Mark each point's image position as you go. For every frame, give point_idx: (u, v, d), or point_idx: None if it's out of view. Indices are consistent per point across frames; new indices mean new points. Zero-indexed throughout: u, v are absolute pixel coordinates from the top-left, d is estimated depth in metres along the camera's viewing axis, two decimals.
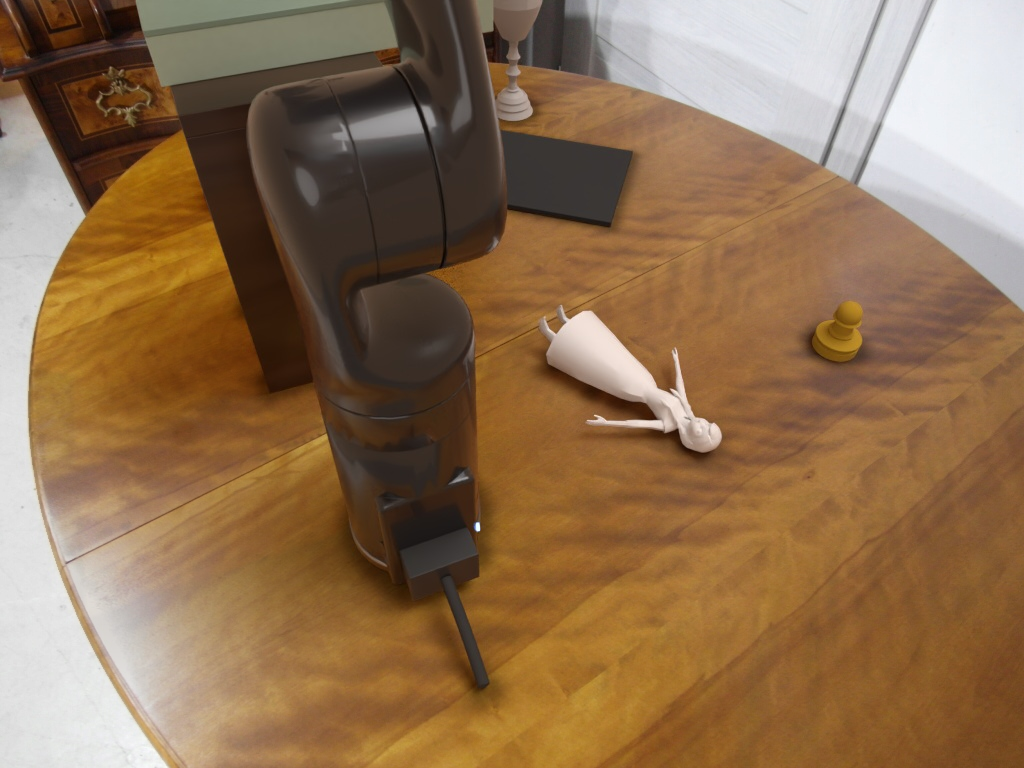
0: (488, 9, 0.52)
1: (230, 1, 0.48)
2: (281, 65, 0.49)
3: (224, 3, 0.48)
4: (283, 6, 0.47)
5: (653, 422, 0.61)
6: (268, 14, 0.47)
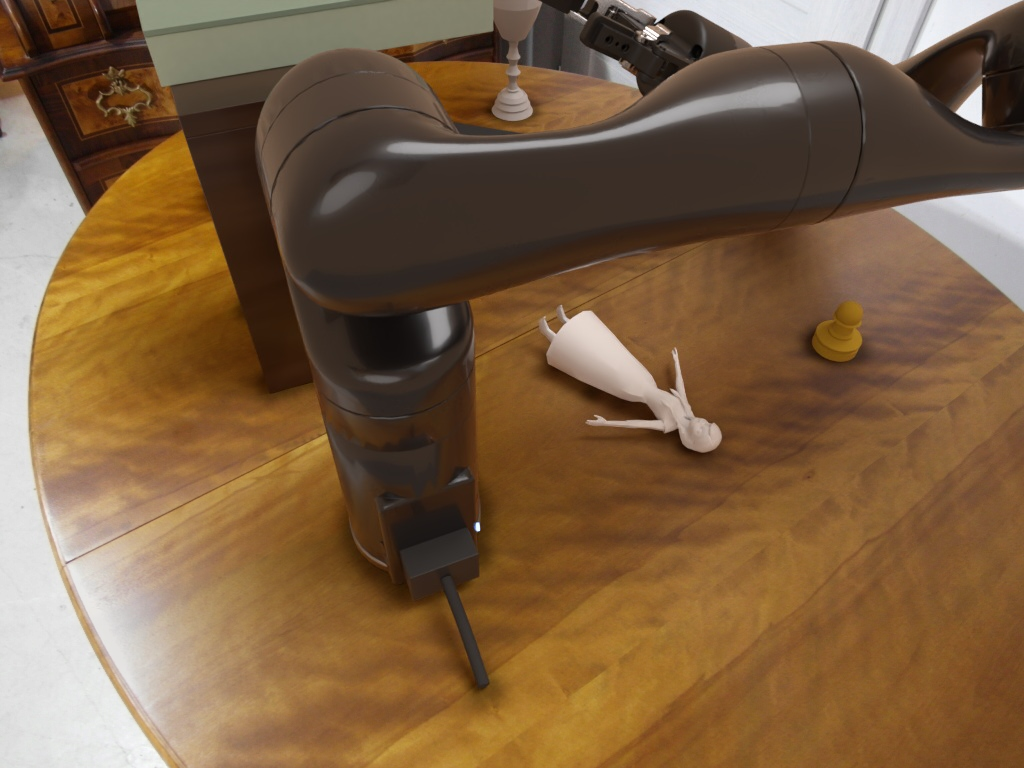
0: (488, 9, 0.52)
1: (230, 1, 0.48)
2: (281, 65, 0.49)
3: (224, 3, 0.48)
4: (283, 6, 0.47)
5: (653, 422, 0.61)
6: (268, 14, 0.47)
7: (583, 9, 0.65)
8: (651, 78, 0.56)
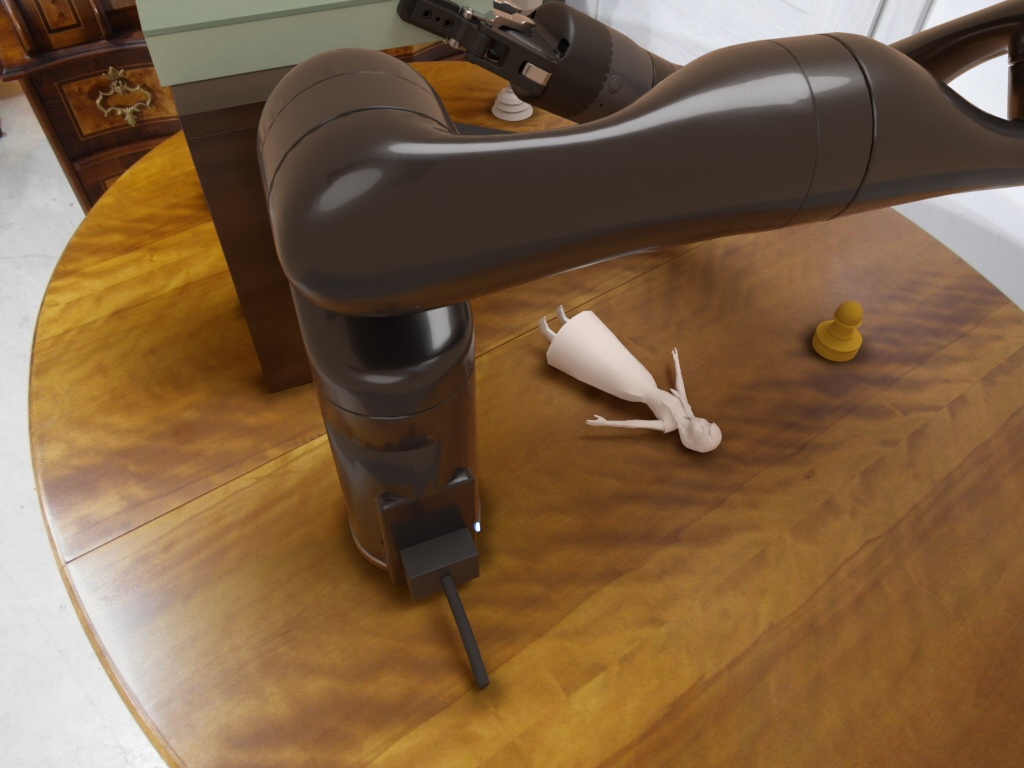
0: (488, 9, 0.52)
1: (230, 1, 0.48)
2: (281, 65, 0.49)
3: (224, 3, 0.48)
4: (283, 6, 0.47)
5: (653, 422, 0.61)
6: (268, 14, 0.47)
7: None
8: (476, 57, 0.51)
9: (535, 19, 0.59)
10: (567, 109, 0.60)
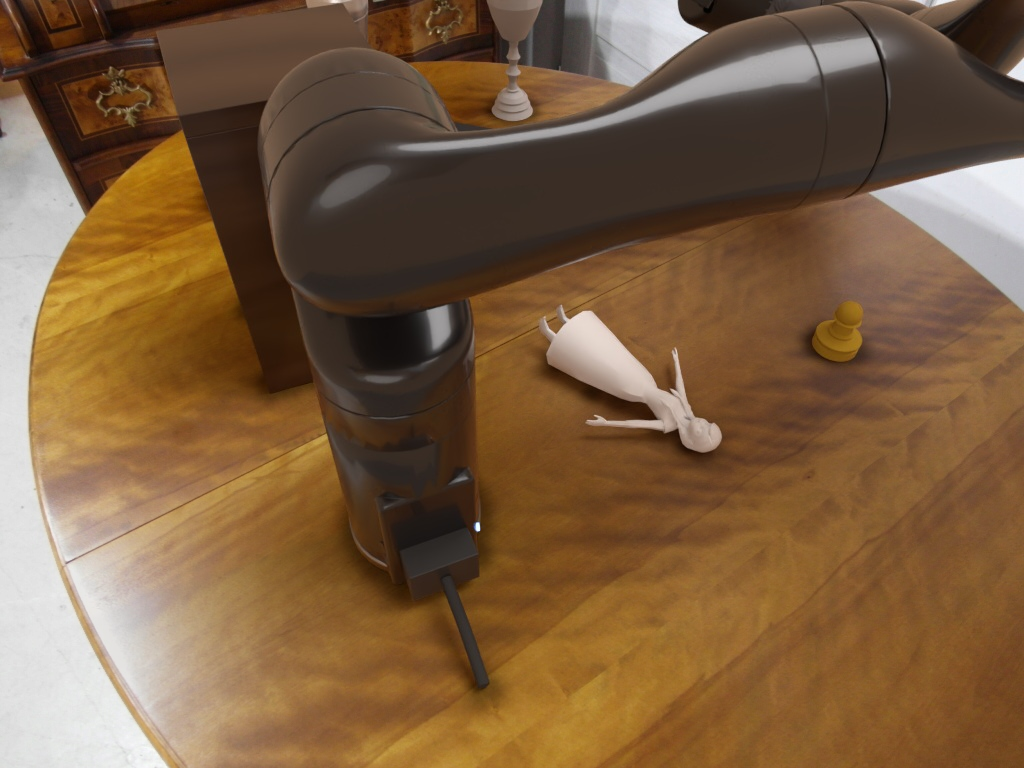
0: None
1: None
2: None
3: None
4: None
5: (653, 422, 0.61)
6: None
7: None
8: None
9: None
10: None
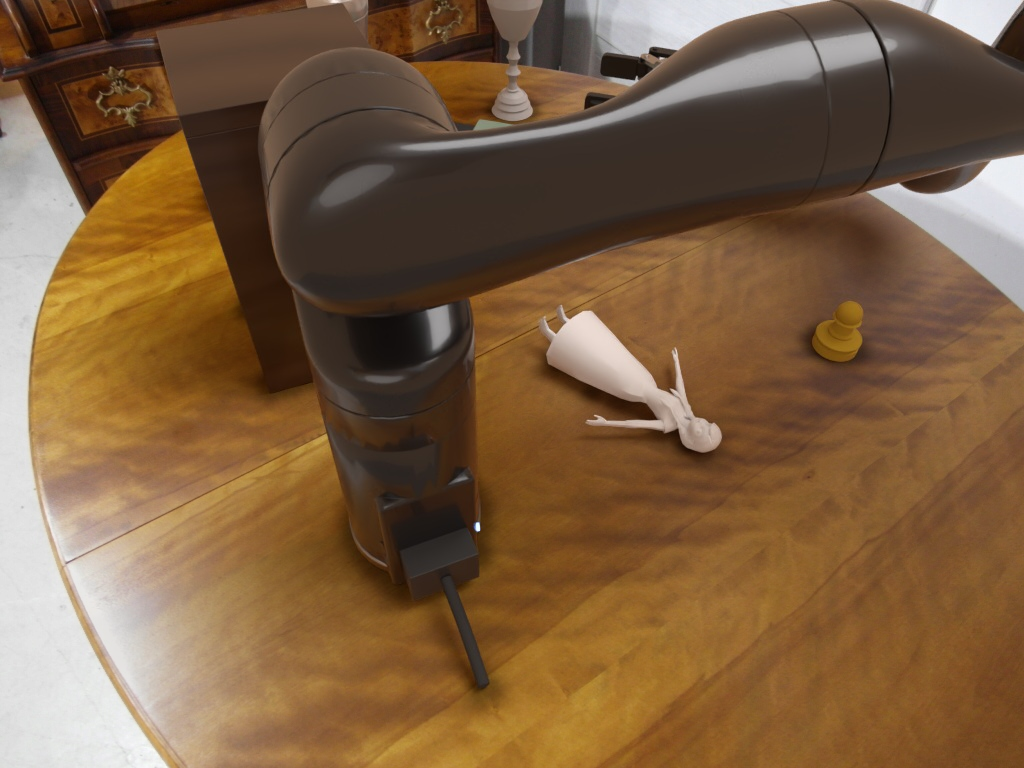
0: None
1: None
2: None
3: None
4: None
5: (653, 422, 0.61)
6: None
7: None
8: None
9: None
10: None
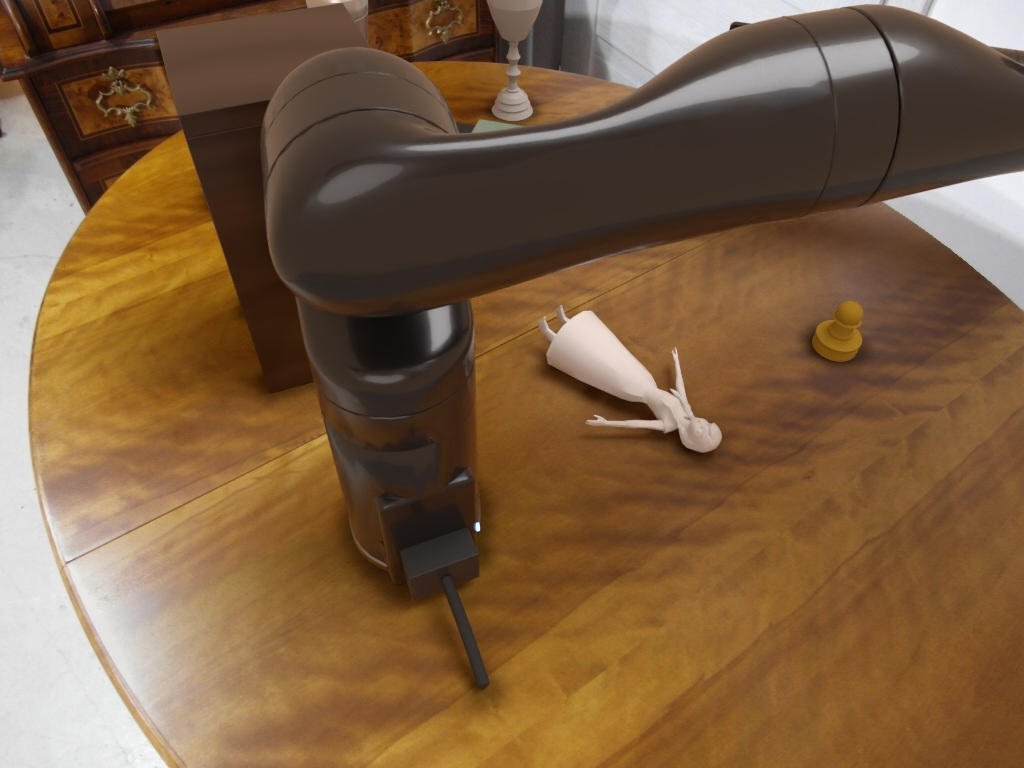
0: None
1: None
2: None
3: None
4: None
5: (653, 422, 0.61)
6: None
7: None
8: None
9: None
10: None
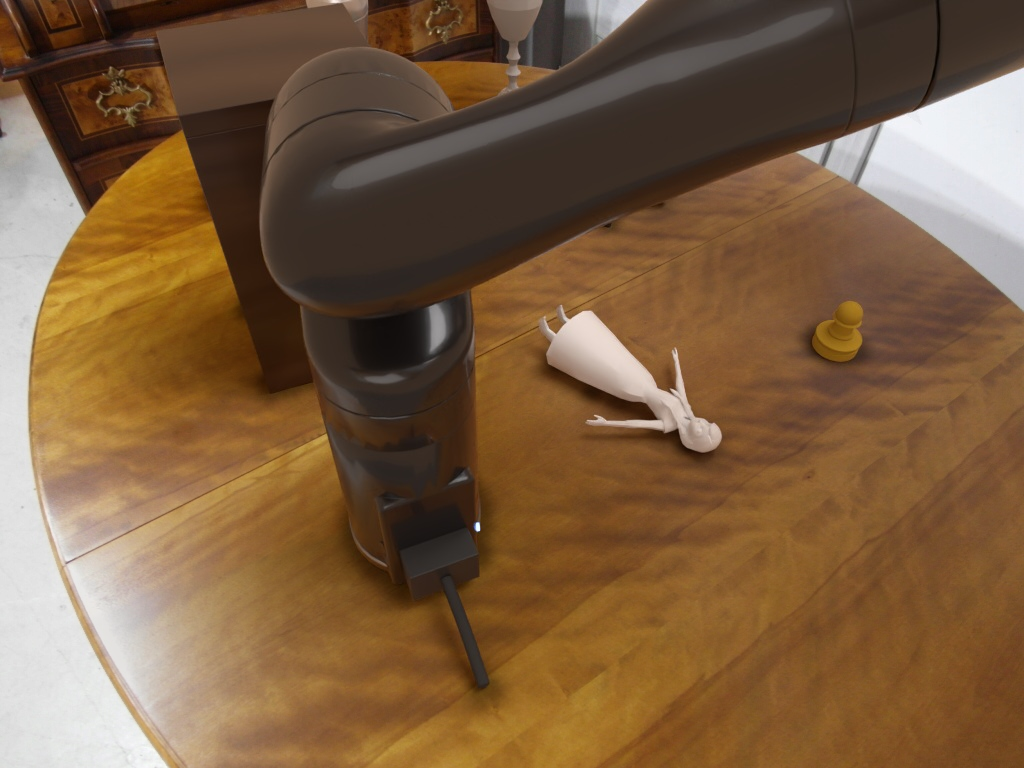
0: None
1: None
2: None
3: None
4: None
5: (653, 422, 0.61)
6: None
7: None
8: None
9: None
10: None
